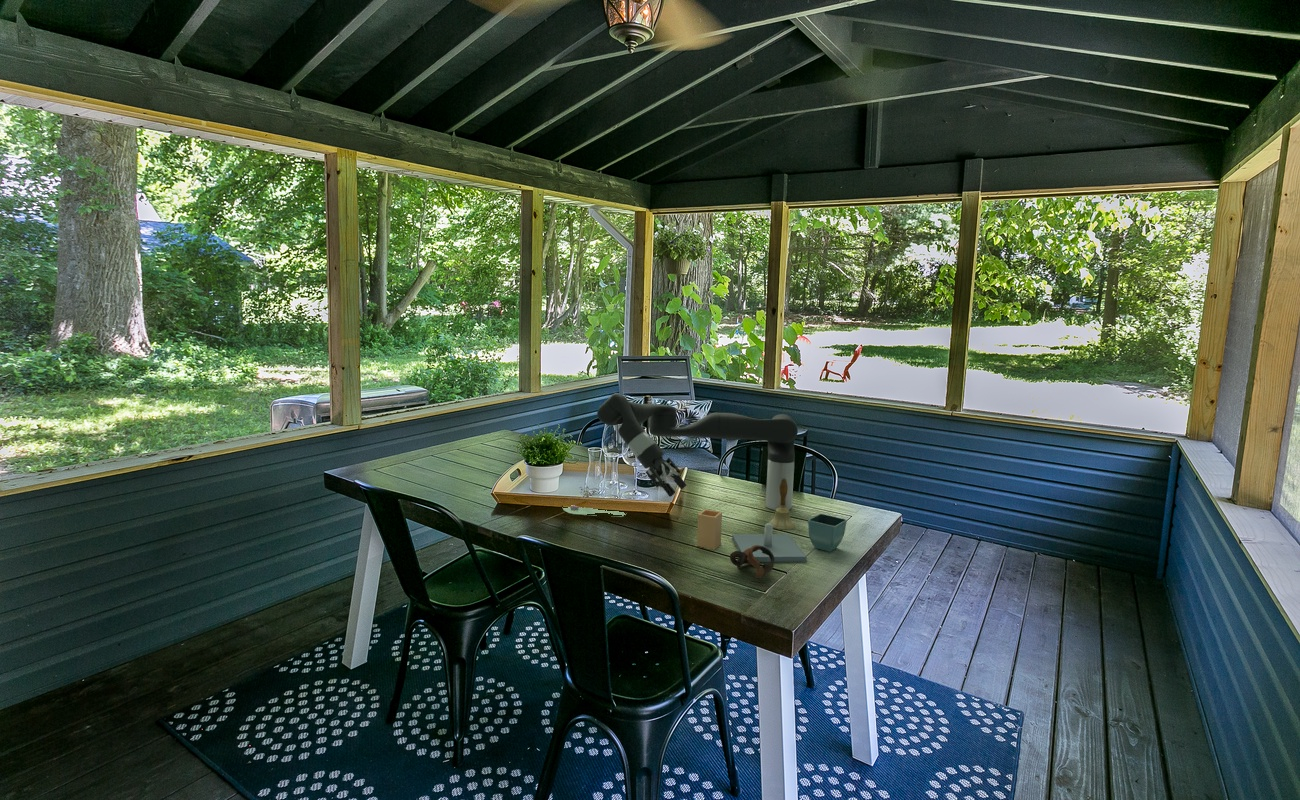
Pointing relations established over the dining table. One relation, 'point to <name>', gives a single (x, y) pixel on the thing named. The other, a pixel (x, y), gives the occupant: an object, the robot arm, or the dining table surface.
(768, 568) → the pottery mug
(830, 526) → the flower pot
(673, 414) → the robot arm
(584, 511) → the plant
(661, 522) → the dining table surface
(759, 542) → the post board
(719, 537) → the collar
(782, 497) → the hand bell
